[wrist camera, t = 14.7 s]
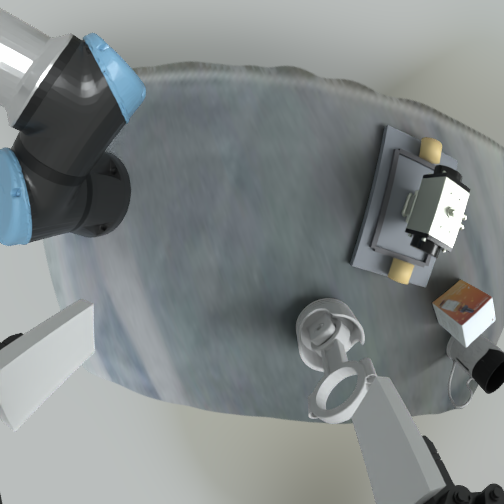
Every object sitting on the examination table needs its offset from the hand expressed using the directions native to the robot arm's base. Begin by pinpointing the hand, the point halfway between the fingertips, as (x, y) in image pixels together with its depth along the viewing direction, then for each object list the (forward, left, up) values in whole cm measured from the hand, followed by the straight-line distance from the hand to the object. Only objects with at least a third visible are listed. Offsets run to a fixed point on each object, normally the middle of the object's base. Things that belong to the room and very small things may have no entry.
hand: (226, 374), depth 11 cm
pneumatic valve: (+22, +13, -30) cm, 39 cm away
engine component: (+14, -10, -32) cm, 36 cm away
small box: (+38, 0, -32) cm, 49 cm away
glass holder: (+46, -10, -32) cm, 57 cm away
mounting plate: (+22, +13, -32) cm, 40 cm away
